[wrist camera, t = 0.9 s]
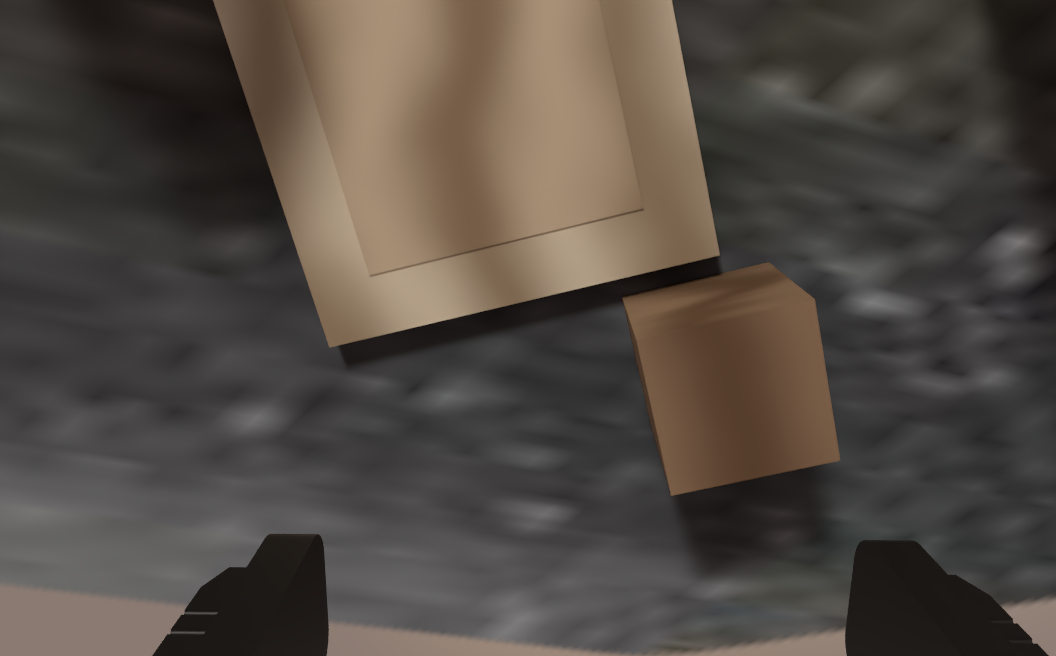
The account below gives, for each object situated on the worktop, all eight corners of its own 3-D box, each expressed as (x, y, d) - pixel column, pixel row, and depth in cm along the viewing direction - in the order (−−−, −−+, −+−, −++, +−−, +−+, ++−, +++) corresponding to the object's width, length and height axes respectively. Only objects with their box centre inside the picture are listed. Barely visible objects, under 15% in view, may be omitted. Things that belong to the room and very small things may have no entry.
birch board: (630, -193, 28) (633, -204, 27) (715, 250, 32) (720, 255, 31) (200, -67, 29) (188, -72, 28) (336, 340, 34) (328, 348, 33)
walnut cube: (768, 262, 32) (814, 299, 27) (791, 397, 34) (840, 460, 28) (621, 296, 33) (636, 340, 27) (651, 428, 35) (671, 495, 29)
